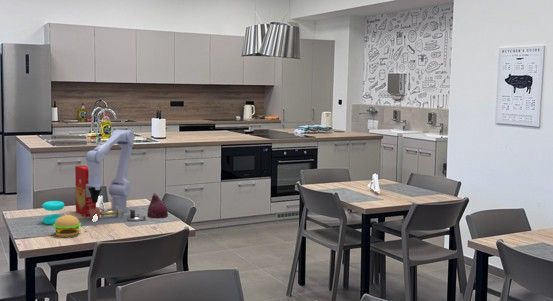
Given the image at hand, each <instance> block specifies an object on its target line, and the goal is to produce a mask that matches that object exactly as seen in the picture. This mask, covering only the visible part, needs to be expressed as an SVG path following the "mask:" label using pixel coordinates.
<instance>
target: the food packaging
mask: <svg viewBox="0 0 553 301" xmlns="http://www.w3.org/2000/svg"><path fill="white" fill-rule="evenodd" d="M74 167H75V168H74V169H75V173H74V174H75V212H76V213H77V214H79V215H80V216H83V218H90V207H97V203H93V202H92V199H91V194H90V192H89V190H88V188H91V186H86V184H89V171H88V165H75V166H74Z"/></svg>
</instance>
